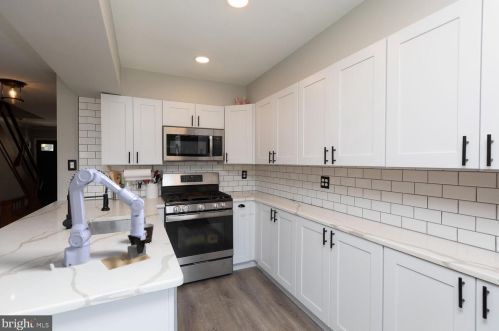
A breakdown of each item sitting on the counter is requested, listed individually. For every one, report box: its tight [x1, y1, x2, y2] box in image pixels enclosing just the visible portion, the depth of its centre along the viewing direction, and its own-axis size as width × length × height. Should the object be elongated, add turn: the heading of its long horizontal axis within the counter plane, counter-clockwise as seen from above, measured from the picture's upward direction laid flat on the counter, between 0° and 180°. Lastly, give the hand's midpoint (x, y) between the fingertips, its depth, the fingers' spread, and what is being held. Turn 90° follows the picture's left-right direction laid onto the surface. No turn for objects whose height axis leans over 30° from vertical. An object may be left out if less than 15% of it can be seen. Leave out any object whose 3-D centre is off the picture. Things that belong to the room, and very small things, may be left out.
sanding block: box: [127, 244, 147, 259], centre depth 114 cm, size 7×4×5 cm, turn 136°
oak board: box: [100, 252, 152, 271], centre depth 111 cm, size 18×14×1 cm
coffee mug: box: [144, 223, 155, 245], centre depth 137 cm, size 12×9×10 cm
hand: (137, 251), depth 115 cm, fingers open, 7 cm apart
